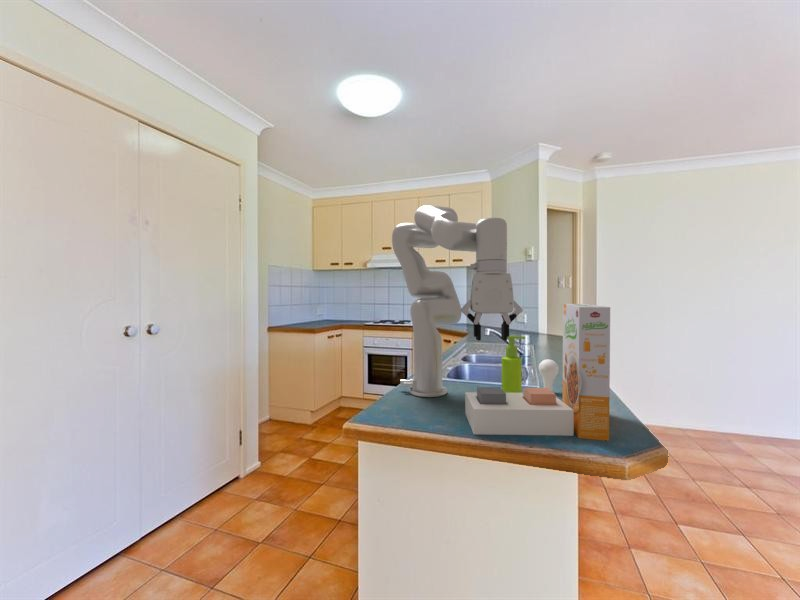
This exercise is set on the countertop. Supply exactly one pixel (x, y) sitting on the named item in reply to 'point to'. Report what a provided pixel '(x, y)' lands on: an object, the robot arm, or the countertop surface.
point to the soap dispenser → (512, 368)
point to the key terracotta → (539, 396)
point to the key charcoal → (491, 395)
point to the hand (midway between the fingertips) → (491, 339)
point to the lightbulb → (548, 372)
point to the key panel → (518, 417)
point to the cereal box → (587, 368)
